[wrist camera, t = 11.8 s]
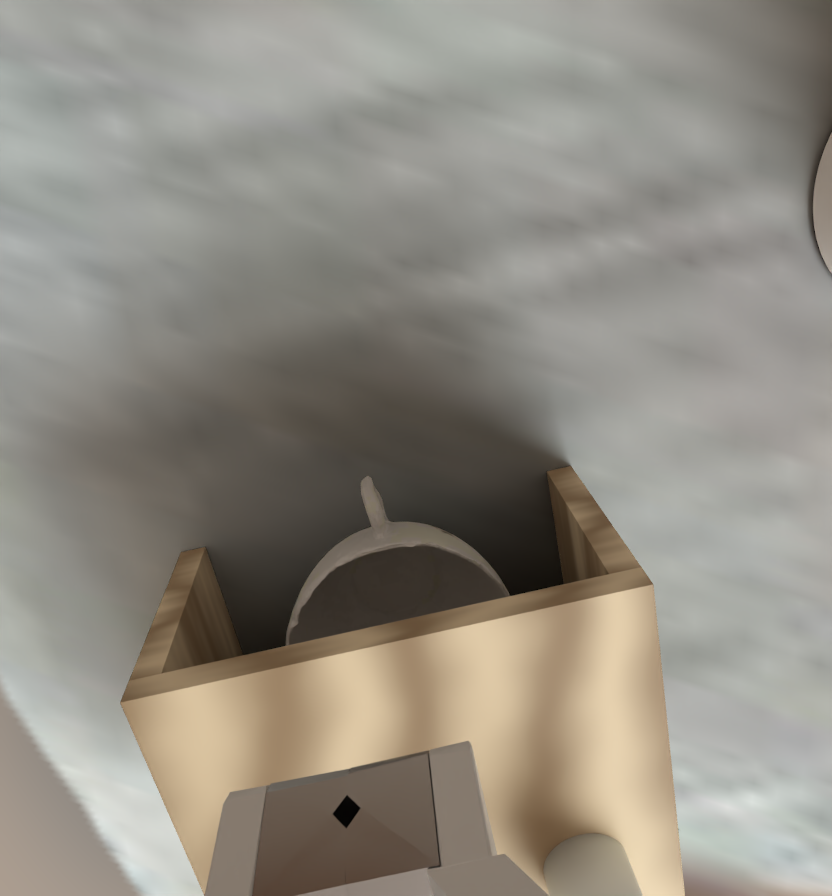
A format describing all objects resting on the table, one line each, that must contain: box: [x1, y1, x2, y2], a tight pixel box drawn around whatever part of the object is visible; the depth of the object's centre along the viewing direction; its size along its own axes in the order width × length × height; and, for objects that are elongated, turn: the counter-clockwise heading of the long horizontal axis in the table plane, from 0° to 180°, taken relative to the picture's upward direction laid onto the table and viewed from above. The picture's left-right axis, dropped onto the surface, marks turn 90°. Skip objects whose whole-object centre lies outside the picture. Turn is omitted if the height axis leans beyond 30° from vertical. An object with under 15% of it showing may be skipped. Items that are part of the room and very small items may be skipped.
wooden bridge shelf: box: [120, 466, 685, 896], centre depth 44 cm, size 24×20×14 cm
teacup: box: [286, 476, 510, 646], centre depth 44 cm, size 15×12×8 cm
